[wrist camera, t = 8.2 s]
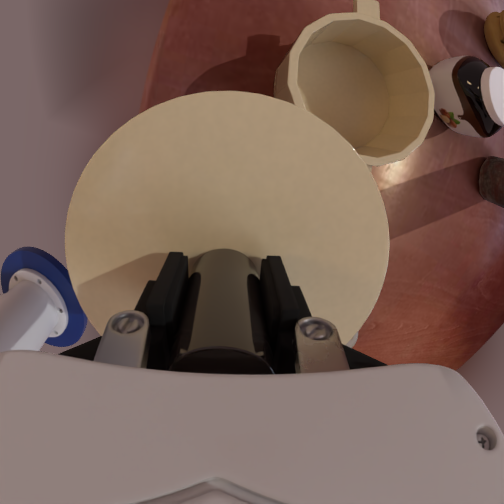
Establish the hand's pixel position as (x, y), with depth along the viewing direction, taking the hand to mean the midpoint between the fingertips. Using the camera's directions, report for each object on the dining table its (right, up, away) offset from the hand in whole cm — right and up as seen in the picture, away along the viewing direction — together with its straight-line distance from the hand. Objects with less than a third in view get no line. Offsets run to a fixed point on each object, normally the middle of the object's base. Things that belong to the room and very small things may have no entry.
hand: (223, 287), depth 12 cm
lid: (0, 0, +1) cm, 1 cm away
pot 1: (+11, +19, +15) cm, 27 cm away
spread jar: (+29, +23, +15) cm, 40 cm away
